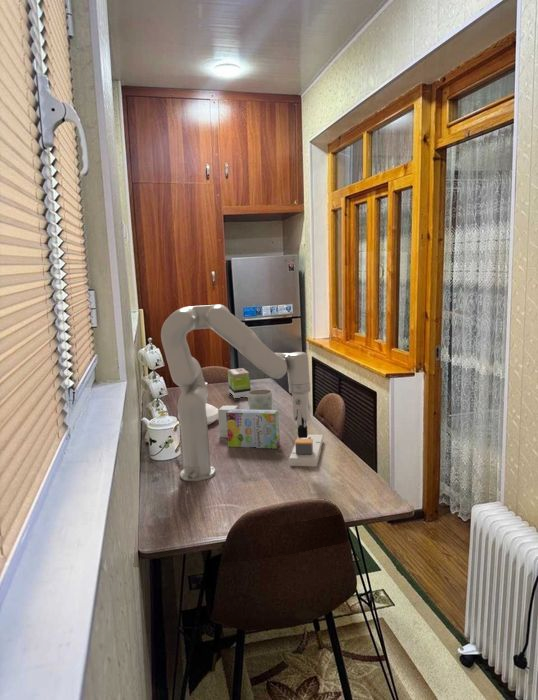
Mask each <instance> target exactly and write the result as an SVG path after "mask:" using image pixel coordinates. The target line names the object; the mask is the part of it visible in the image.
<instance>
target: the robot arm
mask: <svg viewBox="0 0 538 700" xmlns="http://www.w3.org/2000/svg"><path fill="white" fill-rule="evenodd" d="M201 329H202V330H205V329H207V330H208V329H211V330H212V331H213V332H214V333H215V334H217V335H218V336H220V337H221V338H222V339H223V340H225V341H226V342H227V343H228V344H229V345H231V346H232V347H233V348H235V350H236V351H238V352H239V353H240V354H241V355H242V356H244V357H245V358H246V359H247V360H248V361H249V362H250V363H252V365H254V366H255V367H256V368H257V369H258V370H260V371H261V372H263V373H264V374H265V375H266V376H268V377H270V378H271V379H276V380H277V379H282V378H283V377H284V376H285V375H286V374H287V382H288V392H289V394H291V397H292V413H293V420H294V421H295V422H297V423H296V425H297V438H307V436H308V435H309V433H308V425H307V422H308V421H309V419H310V415H311V405H310V395H309V392H311V381H310V366H309V356H308V354H307V353H306V352H304V351H294V352H274V351H273V350H271V349H270V348H269V347H268V346H267V345H266V344H265V343H264V342H262V340H261V339H260V338H259V337H258V336H257V334H256V333H255V332H254V330H253V329H252V328H250V327H249V326H248V325H247V324H245V322H242V321H241V320H240V319H239V318H237V317H236V316H235V315H234V314H233V313H231V312H230V310H229V308H228V307H227V306H225V305H223V304H221V303H219V304H218V303H217V304H211V305H210V304H209V305H194V306H193V305H192V306H191V305H190V306H184V307H181V308H178V309H176V310H175V311H174V312H172V313H171V314H170V315H169V316H167V318H166V319H165V321H164V322H163V324H162V326H161V331H160V338H161V339H160V340H161V345H162V348H163V351H164V355H165V359H166V363H167V365H168V366H167V367H168V370H169V375H170V378H171V380H172V382H173V383H174V384H175V385H176V386H178V387H179V389H180V396H179V398H178V400H177V413H178V414H179V419H178V421H179V420H180V421H179V428H180V436H181V437H180V439H181V449H182V460H183V469H182V470H181V471H180V473H179V476H180V479H182V480H183V481H185V482H186V481H187V482H201V480H202V481H206V480H208V479H211V478H212V477H213V475H214V476H215V474H216V468H215V467H214V466H212V465H211V453H210V440H209V438H210V437H209V430H208V428H209V427H208V425H207V417H206V403H207V404H208V399H209V393H208V388H207V385H206V384H205V382H206V381H205V377H204V374H203V371H202V367H201V365H200V362H199V361H198V359H196V358H195V357H193V356H192V354H191V351H190V350H191V349H190V346H189V344H188V340H187V334H189V333H190V332H192V331H193V330H201ZM178 414H177V415H178ZM210 477H211V478H210ZM205 479H206V480H205Z"/></svg>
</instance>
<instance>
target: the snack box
mask: <svg viewBox="0 0 538 700" xmlns="http://www.w3.org/2000/svg"><path fill="white" fill-rule="evenodd" d="M226 418H227V433H228V437H227V443H228V444H227V446H228V447H231V448H249V447H256V448H255V449H271V448H272V449H273V450H274V449H278V448H279V446H280V445H281V442H280V439H281V438H280V420H279V409H272V410H250V409H247V408H245V409H240V408H238V409H230V410H229V411H228V412H226Z"/></svg>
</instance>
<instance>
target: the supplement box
mask: <svg viewBox="0 0 538 700" xmlns="http://www.w3.org/2000/svg"><path fill="white" fill-rule="evenodd" d="M230 409H239V406H238V405H222V406H221V407H220V408H218V416H219V417H218V427H219V428H218V429H219V438H228V433H227V418H226V412H228V411H229V410H230Z"/></svg>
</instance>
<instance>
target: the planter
mask: <svg viewBox="0 0 538 700" xmlns="http://www.w3.org/2000/svg"><path fill="white" fill-rule="evenodd" d="M247 400H248V408H249V409H248V410H273V391H272V389H267V388H258V389H257V388H256V389H251V391H249V392H248V397H247Z"/></svg>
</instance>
